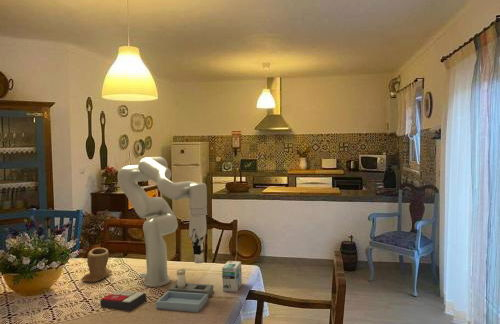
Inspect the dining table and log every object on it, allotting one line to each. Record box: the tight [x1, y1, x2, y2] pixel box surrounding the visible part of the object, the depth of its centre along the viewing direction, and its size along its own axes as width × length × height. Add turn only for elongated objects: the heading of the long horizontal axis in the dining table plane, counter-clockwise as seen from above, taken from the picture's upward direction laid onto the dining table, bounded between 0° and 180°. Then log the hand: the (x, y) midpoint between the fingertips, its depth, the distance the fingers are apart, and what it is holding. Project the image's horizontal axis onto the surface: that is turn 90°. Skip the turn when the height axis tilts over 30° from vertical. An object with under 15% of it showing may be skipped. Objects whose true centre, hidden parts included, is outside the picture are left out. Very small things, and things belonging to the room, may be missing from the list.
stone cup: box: [81, 247, 113, 283], centre depth 195 cm, size 15×12×15 cm
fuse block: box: [167, 281, 214, 298], centre depth 173 cm, size 18×8×3 cm, turn 77°
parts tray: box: [155, 290, 209, 313], centre depth 161 cm, size 18×11×3 cm, turn 77°
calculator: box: [100, 289, 147, 312], centre depth 164 cm, size 11×4×15 cm
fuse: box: [176, 268, 186, 288], centre depth 174 cm, size 4×4×10 cm
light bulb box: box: [221, 260, 243, 293], centre depth 179 cm, size 11×7×11 cm, turn 168°
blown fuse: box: [194, 238, 205, 264], centre depth 172 cm, size 4×4×10 cm
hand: (199, 252), depth 172 cm, fingers closed on blown fuse, 3 cm apart
